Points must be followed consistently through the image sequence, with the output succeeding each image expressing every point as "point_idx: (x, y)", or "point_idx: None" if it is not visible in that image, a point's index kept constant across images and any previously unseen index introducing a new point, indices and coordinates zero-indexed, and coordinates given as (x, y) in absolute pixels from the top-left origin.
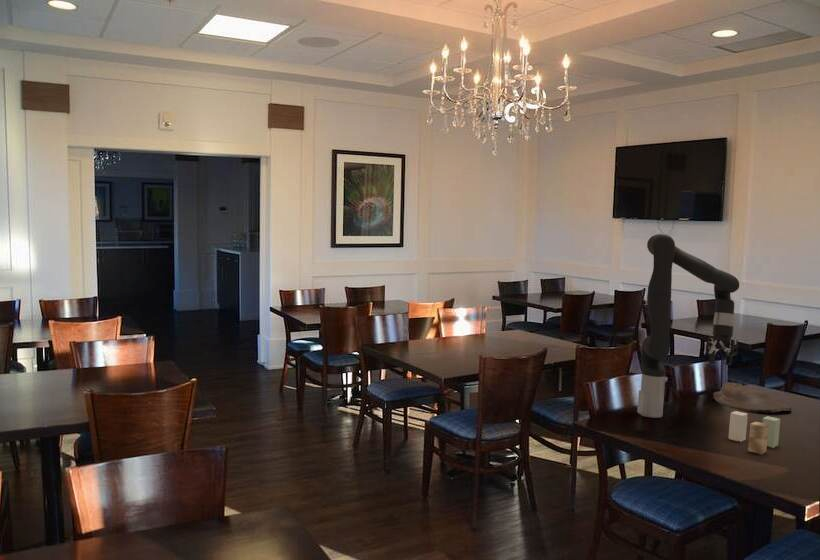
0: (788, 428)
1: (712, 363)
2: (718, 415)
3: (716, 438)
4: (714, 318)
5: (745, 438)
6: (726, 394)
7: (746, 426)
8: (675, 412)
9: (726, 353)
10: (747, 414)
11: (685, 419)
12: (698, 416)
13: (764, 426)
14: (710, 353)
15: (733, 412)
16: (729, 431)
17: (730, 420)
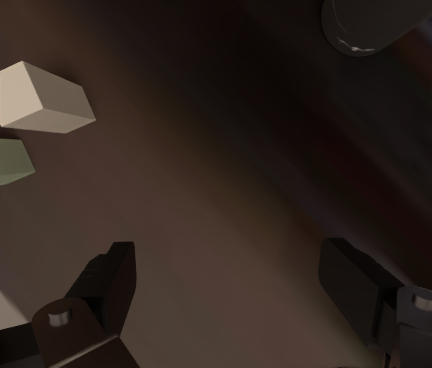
0: None
1: (320, 257)
2: (284, 254)
3: (92, 51)
4: None
5: (62, 132)
6: None
7: (37, 129)
8: (357, 134)
9: (88, 316)
10: (2, 124)
11: (279, 105)
12: (294, 178)
13: None
14: (398, 291)
15: (25, 79)
16: (67, 81)
17: (41, 70)
